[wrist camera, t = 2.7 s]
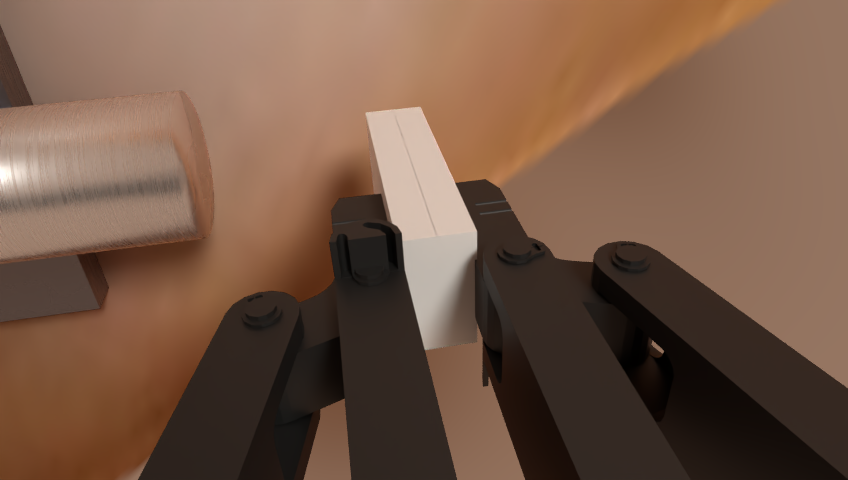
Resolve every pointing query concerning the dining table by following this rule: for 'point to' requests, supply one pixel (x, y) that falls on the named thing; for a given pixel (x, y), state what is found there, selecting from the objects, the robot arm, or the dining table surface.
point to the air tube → (102, 176)
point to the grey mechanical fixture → (51, 277)
